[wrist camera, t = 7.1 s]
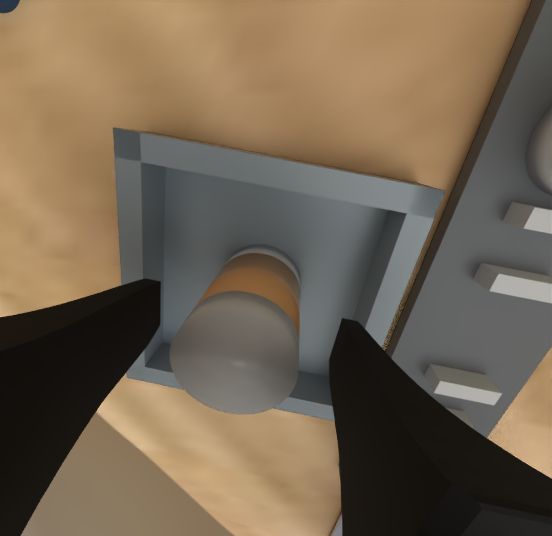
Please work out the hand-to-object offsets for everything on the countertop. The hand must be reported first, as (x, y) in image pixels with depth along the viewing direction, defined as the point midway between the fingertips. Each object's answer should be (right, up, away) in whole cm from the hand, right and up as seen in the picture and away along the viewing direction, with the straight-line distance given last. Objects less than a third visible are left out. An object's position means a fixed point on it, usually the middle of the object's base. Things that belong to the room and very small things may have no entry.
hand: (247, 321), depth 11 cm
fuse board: (+11, -1, +3) cm, 12 cm away
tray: (0, +1, +4) cm, 4 cm away
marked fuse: (0, +1, +3) cm, 3 cm away
